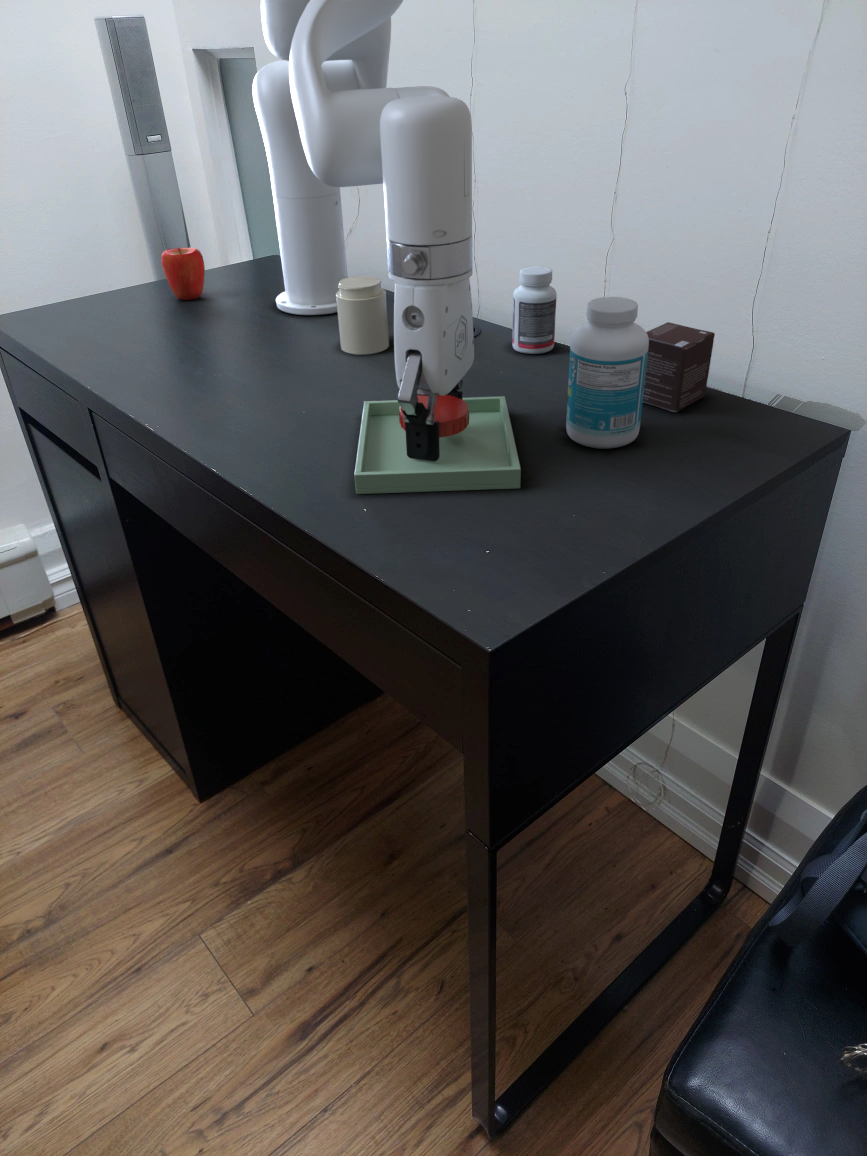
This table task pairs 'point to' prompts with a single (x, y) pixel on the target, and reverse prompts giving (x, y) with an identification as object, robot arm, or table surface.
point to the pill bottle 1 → (534, 311)
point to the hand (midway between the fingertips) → (435, 441)
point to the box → (677, 366)
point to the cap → (446, 414)
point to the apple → (184, 272)
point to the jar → (362, 315)
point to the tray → (464, 457)
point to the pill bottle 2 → (607, 375)
